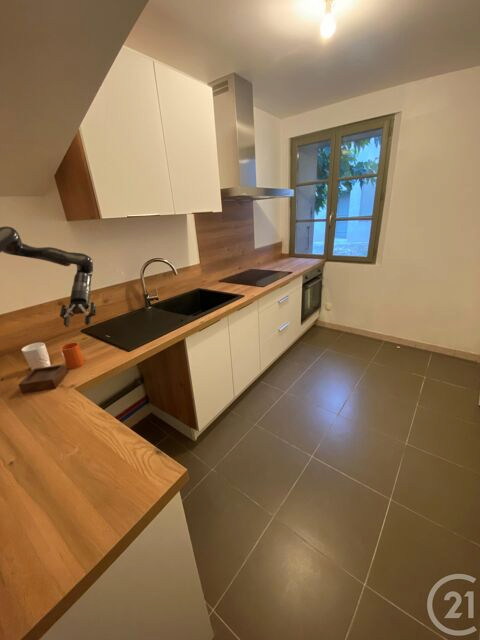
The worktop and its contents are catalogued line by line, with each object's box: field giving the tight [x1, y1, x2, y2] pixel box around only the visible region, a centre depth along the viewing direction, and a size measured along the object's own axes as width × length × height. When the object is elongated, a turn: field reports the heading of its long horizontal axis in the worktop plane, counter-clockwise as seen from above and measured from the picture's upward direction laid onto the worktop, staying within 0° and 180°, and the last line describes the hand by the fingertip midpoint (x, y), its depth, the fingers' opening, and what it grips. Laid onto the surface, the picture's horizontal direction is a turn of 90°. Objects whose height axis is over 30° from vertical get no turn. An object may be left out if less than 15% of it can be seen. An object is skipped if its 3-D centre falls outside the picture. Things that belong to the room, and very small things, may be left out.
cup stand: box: [18, 363, 68, 395], centre depth 99 cm, size 11×11×4 cm
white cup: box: [21, 341, 52, 371], centre depth 109 cm, size 8×8×10 cm
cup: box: [59, 342, 85, 370], centre depth 110 cm, size 7×7×9 cm
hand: (76, 325), depth 116 cm, fingers open, 8 cm apart
